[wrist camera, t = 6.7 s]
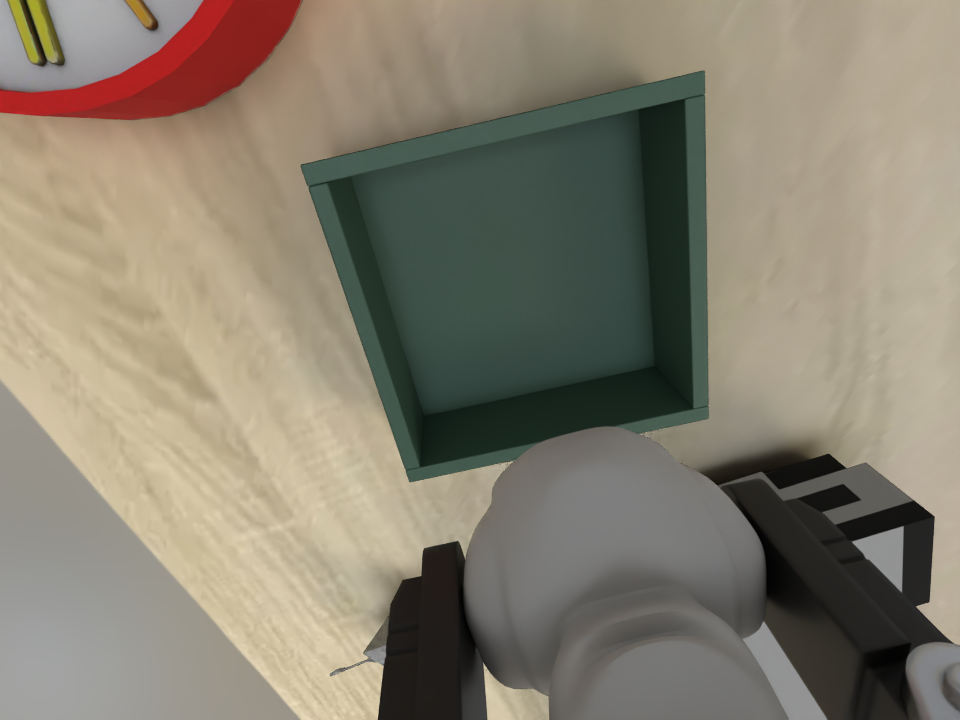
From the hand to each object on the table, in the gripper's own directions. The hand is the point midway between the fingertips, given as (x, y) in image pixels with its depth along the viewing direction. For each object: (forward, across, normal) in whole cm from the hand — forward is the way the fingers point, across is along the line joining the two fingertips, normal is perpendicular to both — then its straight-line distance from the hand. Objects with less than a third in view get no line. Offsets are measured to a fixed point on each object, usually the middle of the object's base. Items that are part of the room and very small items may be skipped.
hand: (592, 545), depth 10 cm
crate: (+19, -1, 0) cm, 19 cm away
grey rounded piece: (+1, 0, 0) cm, 1 cm away
